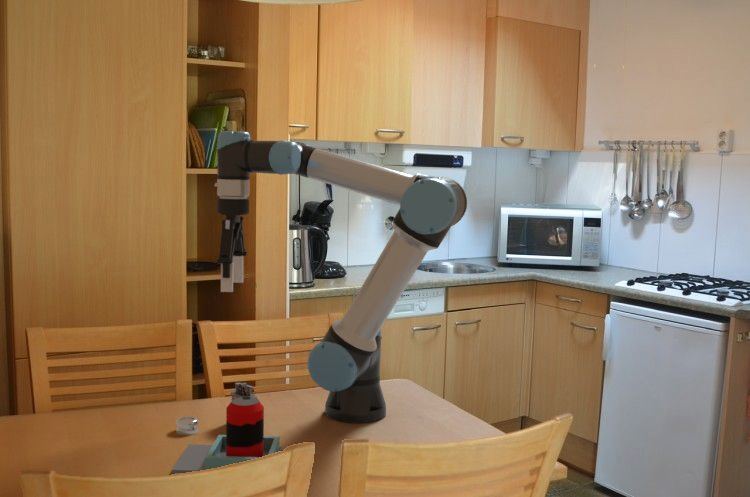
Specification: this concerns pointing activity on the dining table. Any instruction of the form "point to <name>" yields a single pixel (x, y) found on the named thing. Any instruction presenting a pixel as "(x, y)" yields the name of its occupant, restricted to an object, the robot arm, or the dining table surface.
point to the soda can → (244, 428)
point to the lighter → (242, 391)
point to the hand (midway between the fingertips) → (232, 287)
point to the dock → (217, 455)
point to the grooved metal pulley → (187, 425)
